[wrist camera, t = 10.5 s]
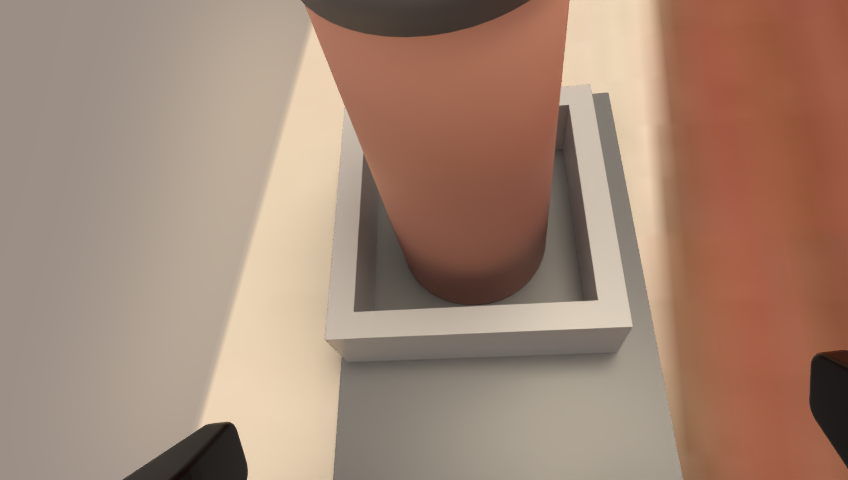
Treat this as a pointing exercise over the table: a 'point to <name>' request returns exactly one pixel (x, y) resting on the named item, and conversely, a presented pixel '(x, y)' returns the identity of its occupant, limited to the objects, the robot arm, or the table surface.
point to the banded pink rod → (455, 128)
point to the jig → (503, 338)
